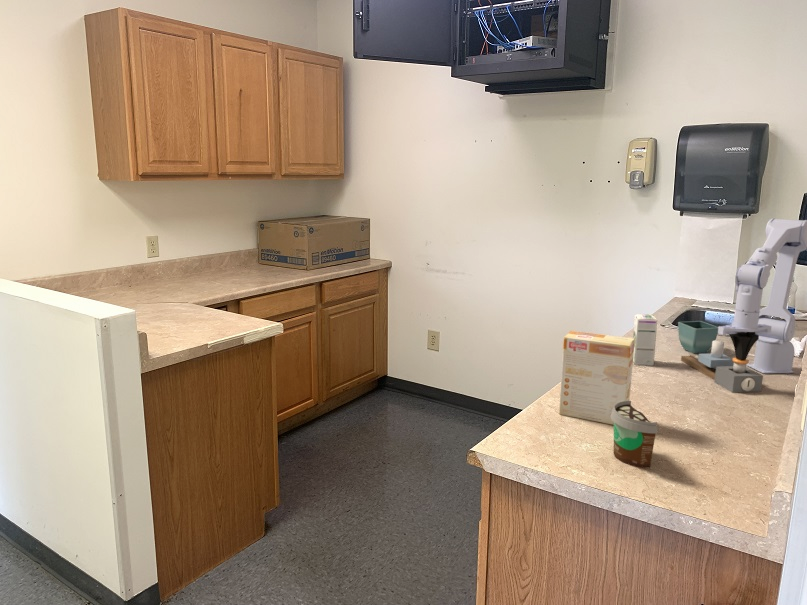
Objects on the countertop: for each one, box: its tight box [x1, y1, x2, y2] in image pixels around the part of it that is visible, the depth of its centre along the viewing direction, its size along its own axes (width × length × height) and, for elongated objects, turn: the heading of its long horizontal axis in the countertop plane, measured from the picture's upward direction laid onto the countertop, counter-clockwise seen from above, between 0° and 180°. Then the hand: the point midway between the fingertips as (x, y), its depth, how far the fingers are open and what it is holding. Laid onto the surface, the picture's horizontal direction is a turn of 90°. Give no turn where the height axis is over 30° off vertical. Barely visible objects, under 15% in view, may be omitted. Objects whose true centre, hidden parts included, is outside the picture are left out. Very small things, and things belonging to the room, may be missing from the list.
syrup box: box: [632, 313, 658, 367], centre depth 182 cm, size 6×6×14 cm
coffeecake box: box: [558, 330, 635, 426], centre depth 142 cm, size 15×7×20 cm, turn 61°
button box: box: [714, 366, 764, 393], centre depth 163 cm, size 8×8×4 cm
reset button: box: [732, 356, 750, 374], centre depth 162 cm, size 4×4×4 cm
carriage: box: [698, 339, 734, 368], centre depth 172 cm, size 7×6×7 cm
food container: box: [611, 400, 659, 469], centre depth 122 cm, size 12×6×10 cm, turn 5°
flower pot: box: [677, 320, 719, 354], centre depth 194 cm, size 9×9×9 cm
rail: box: [680, 352, 716, 381], centre depth 177 cm, size 6×18×2 cm, turn 5°
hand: (740, 359), depth 162 cm, fingers closed
